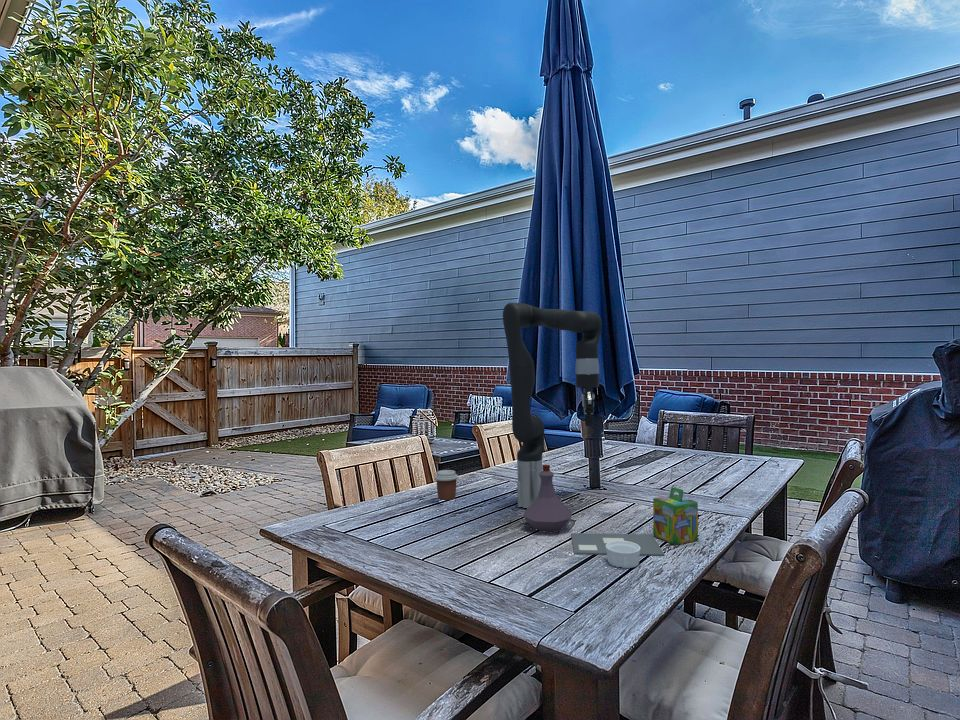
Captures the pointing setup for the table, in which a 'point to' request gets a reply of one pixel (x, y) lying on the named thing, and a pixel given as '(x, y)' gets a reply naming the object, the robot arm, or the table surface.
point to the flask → (547, 506)
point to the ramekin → (623, 554)
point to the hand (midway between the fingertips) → (588, 425)
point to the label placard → (597, 542)
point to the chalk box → (675, 518)
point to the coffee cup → (446, 484)
